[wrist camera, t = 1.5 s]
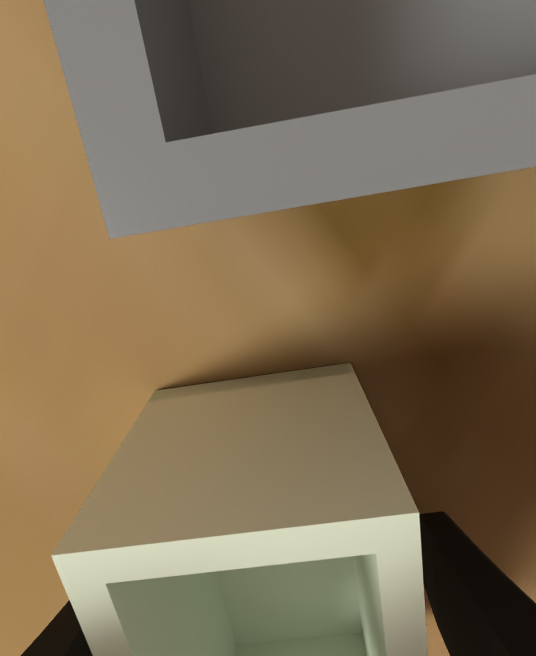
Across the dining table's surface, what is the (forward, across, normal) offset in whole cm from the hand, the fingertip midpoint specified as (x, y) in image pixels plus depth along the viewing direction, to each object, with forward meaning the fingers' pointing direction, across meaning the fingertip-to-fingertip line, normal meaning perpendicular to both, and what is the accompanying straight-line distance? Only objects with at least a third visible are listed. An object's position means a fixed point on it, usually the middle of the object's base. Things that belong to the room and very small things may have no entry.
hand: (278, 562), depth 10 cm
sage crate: (+1, 0, 0) cm, 1 cm away
